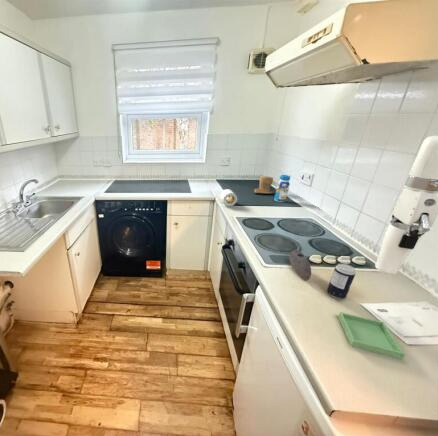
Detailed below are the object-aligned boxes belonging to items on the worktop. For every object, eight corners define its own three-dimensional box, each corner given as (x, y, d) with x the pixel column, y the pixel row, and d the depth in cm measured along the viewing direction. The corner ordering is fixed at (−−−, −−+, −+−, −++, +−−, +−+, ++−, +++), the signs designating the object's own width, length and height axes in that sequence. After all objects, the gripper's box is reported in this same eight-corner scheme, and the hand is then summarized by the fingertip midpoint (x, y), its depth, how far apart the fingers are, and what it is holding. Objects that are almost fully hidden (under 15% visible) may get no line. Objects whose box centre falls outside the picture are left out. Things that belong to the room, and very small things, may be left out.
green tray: (381, 326, 74) (383, 322, 73) (402, 359, 63) (405, 354, 63) (337, 316, 77) (339, 311, 77) (351, 346, 67) (353, 341, 67)
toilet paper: (219, 201, 185) (220, 189, 181) (232, 201, 185) (234, 189, 181) (222, 205, 176) (224, 193, 172) (236, 206, 176) (238, 193, 172)
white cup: (405, 278, 71) (428, 233, 65) (377, 273, 73) (397, 229, 67) (393, 266, 77) (413, 224, 71) (367, 262, 79) (384, 220, 73)
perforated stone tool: (313, 284, 92) (318, 269, 90) (298, 282, 93) (303, 267, 91) (299, 263, 106) (303, 249, 103) (286, 261, 107) (289, 248, 104)
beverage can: (348, 301, 83) (359, 273, 79) (329, 298, 85) (339, 270, 81) (342, 291, 88) (352, 264, 84) (324, 288, 90) (333, 261, 86)
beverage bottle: (276, 198, 192) (281, 173, 185) (287, 200, 187) (293, 175, 179) (272, 200, 187) (277, 175, 179) (283, 203, 181) (289, 177, 174)
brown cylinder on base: (269, 191, 211) (272, 174, 205) (273, 195, 200) (277, 177, 194) (251, 190, 213) (254, 174, 207) (254, 194, 202) (257, 177, 196)
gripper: (469, 194, 55) (434, 259, 62) (424, 178, 70) (399, 232, 77) (426, 190, 58) (397, 253, 65) (391, 176, 73) (370, 228, 80)
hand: (398, 241), depth 71 cm, fingers closed on white cup, 6 cm apart
